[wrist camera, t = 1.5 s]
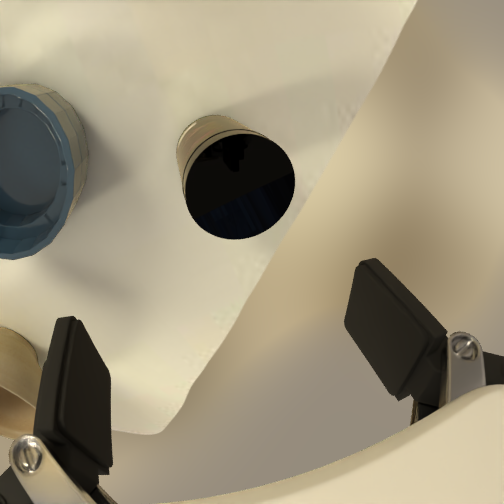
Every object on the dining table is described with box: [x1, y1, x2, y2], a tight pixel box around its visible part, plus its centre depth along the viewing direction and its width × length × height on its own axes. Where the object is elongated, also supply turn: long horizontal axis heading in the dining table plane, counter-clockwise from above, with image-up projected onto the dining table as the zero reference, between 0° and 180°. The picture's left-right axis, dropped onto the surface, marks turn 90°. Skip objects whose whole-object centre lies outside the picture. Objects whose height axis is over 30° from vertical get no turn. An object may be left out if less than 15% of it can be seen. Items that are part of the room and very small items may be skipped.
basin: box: [0, 84, 89, 260], centre depth 18 cm, size 14×14×6 cm
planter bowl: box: [0, 327, 42, 440], centre depth 26 cm, size 16×16×11 cm
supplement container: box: [176, 115, 295, 239], centre depth 22 cm, size 7×7×10 cm
